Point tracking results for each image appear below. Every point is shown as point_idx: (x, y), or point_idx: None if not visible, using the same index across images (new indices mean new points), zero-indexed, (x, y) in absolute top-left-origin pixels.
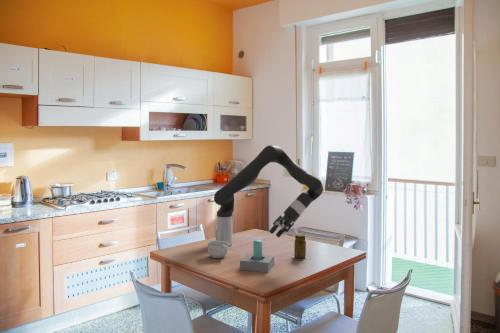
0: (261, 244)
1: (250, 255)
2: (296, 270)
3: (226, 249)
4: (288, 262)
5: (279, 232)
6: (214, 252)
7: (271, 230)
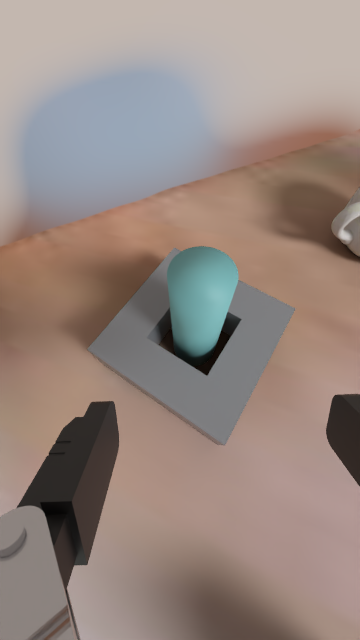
0: (173, 303)
1: (251, 310)
2: None
3: (338, 224)
4: (237, 564)
5: (68, 455)
6: (346, 205)
7: (353, 424)
